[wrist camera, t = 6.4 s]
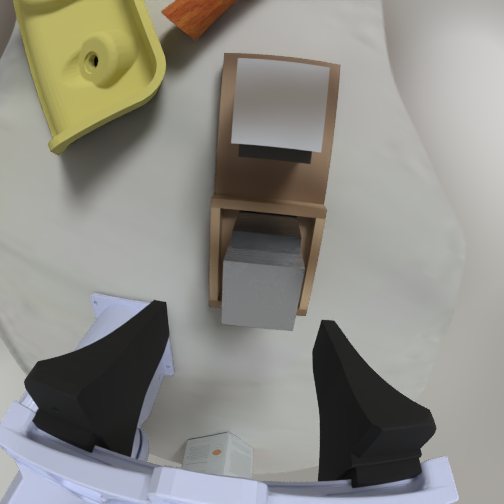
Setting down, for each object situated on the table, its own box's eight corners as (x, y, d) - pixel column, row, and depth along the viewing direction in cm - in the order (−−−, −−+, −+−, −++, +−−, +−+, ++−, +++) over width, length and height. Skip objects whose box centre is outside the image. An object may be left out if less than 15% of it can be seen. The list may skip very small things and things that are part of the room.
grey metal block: (288, 277, 21) (292, 330, 16) (234, 271, 22) (221, 323, 16) (298, 211, 19) (308, 250, 14) (238, 205, 19) (224, 241, 14)
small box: (213, 455, 39) (201, 523, 27) (186, 438, 37) (169, 512, 25) (255, 448, 36) (249, 524, 25) (229, 430, 34) (217, 515, 22)
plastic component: (177, 86, 15) (34, 160, 13) (165, 103, 22) (61, 156, 20) (109, -91, 6) (-7, -37, 4) (108, -49, 13) (15, -5, 11)
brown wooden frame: (302, 300, 24) (309, 361, 18) (215, 291, 24) (197, 349, 18) (335, 68, 16) (366, 45, 10) (227, 57, 16) (205, 28, 10)
